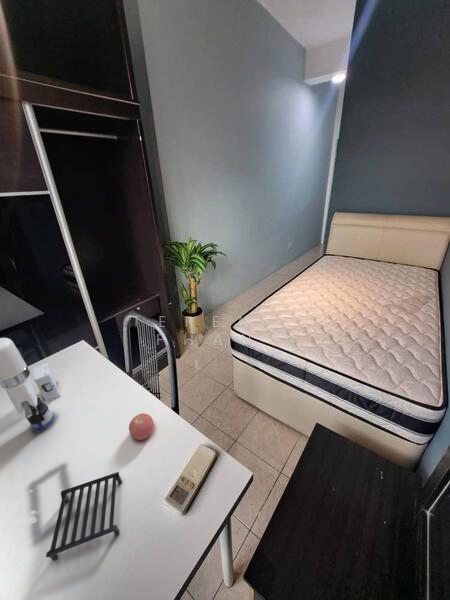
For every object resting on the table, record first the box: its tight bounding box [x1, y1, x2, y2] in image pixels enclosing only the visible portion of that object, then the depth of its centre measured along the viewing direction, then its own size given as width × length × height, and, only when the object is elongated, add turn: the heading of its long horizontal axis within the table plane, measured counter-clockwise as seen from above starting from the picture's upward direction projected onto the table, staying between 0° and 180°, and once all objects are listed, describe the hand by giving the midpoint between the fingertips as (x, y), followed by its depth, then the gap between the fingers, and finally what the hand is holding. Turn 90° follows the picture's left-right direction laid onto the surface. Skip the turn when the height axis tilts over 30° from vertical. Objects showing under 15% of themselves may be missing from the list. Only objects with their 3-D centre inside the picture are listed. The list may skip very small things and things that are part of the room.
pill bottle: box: [24, 398, 55, 433], centre depth 83 cm, size 6×6×11 cm
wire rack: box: [45, 471, 123, 562], centre depth 61 cm, size 14×13×5 cm
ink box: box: [32, 362, 61, 403], centre depth 96 cm, size 9×5×12 cm, turn 37°
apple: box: [128, 413, 154, 441], centre depth 79 cm, size 7×7×8 cm
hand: (38, 414), depth 83 cm, fingers closed on pill bottle, 6 cm apart
